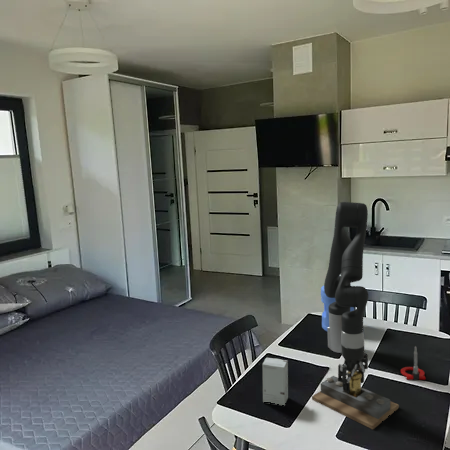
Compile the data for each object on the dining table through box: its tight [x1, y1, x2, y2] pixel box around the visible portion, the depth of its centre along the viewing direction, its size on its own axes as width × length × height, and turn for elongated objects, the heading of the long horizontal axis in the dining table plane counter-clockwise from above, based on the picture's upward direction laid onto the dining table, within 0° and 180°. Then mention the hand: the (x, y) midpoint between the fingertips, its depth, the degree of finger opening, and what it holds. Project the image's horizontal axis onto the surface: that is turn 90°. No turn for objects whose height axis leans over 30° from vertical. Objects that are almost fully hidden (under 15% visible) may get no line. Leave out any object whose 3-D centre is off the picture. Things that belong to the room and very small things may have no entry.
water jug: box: [320, 285, 355, 332], centre depth 207 cm, size 16×16×28 cm
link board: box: [311, 375, 400, 430], centre depth 146 cm, size 24×16×5 cm, turn 40°
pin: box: [346, 370, 362, 397], centre depth 146 cm, size 5×5×10 cm
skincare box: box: [262, 357, 289, 407], centre depth 151 cm, size 8×6×15 cm
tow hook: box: [400, 346, 426, 381], centre depth 162 cm, size 8×13×9 cm
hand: (353, 386), depth 145 cm, fingers open, 8 cm apart
